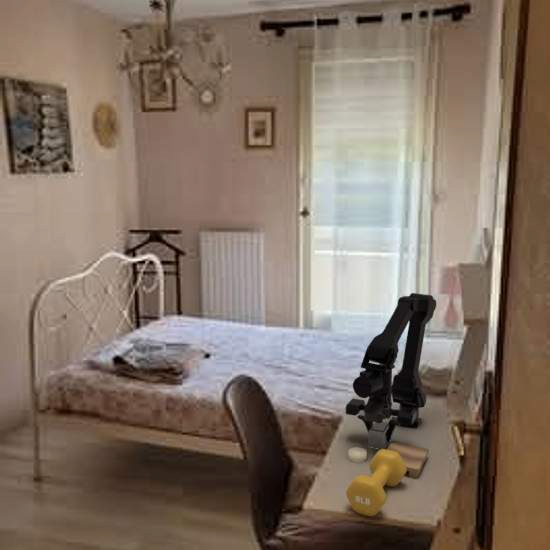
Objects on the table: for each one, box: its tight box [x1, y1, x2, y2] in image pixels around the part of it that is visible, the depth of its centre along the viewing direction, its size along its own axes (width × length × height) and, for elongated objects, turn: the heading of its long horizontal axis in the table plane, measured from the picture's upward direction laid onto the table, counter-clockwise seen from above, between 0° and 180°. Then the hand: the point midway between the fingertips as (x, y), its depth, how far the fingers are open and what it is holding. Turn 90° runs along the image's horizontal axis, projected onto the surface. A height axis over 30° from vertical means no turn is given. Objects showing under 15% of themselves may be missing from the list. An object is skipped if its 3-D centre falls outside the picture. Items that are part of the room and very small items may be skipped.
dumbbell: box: [345, 448, 408, 517], centre depth 141 cm, size 19×9×8 cm, turn 150°
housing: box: [368, 421, 393, 450], centre depth 168 cm, size 7×5×5 cm, turn 154°
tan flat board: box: [386, 441, 430, 479], centre depth 156 cm, size 12×10×2 cm
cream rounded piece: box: [347, 446, 368, 464], centre depth 160 cm, size 5×5×2 cm
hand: (380, 440), depth 168 cm, fingers closed on housing, 5 cm apart
